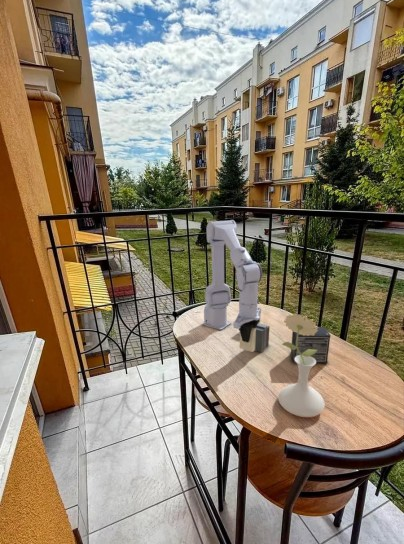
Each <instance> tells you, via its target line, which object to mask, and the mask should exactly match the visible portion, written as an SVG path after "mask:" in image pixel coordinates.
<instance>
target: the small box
mask: <svg viewBox="0 0 404 544" xmlns="http://www.w3.org/2000/svg"><path fill="white" fill-rule="evenodd" d="M316 327H317V330H318V331H317V332H316V333H315V335H309V336H307V335H305V336H304V335H301V334H299V335H298V340H297V347H298V349H299V351H300V353H301V354H302V353H304V352H305V351H306V350H308V349H313V350H317V352H316V353H315V354H313V355H311V357H313V358H314V359H315V360H316V364H317V365H327V364H328V362H329V361H328V359H329V350H330V344H331V343H330V341H331V334H330V332H329V331H328V330H327V328H326V326H316ZM296 338H297V332H293V331H292V334H291V344H293V345H295V346H296ZM298 355H300V354H299V352H298V350H297V348H296V349H295V350H292V349H290V356H291V359H292V361H293V364H297V363H296V362H295V360H294V359H295V357H296V356H298ZM316 364H315V365H316Z"/></svg>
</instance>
